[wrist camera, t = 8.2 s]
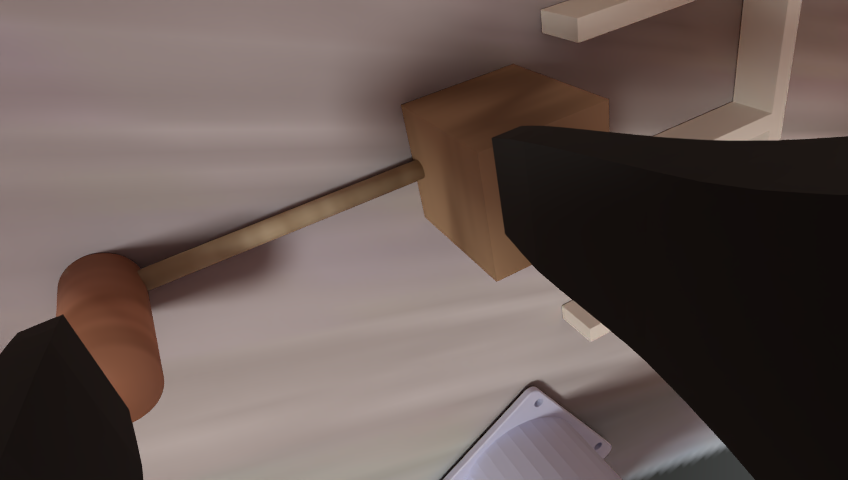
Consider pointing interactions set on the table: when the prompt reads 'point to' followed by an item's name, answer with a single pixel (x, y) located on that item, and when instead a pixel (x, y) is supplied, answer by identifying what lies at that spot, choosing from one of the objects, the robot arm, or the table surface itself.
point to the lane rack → (737, 121)
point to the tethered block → (431, 167)
